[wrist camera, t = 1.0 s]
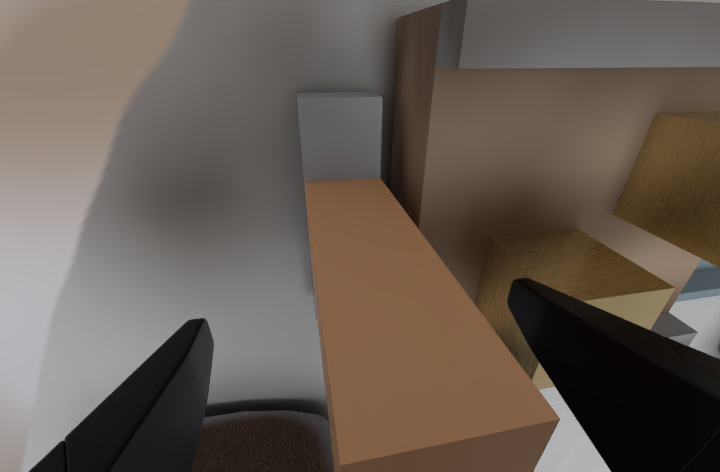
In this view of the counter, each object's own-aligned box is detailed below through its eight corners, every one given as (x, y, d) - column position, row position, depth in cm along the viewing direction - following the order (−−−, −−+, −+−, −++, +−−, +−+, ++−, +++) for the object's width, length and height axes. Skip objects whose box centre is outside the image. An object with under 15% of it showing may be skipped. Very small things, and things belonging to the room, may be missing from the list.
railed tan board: (598, 288, 22) (683, 352, 17) (383, 318, 19) (413, 402, 15) (719, 24, 15) (925, 10, 10) (398, 17, 12) (468, -6, 7)
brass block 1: (549, 302, 15) (624, 373, 12) (472, 313, 15) (527, 391, 11) (577, 228, 13) (675, 287, 10) (489, 237, 13) (562, 303, 9)
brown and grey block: (367, 286, 18) (471, 591, 8) (313, 292, 18) (349, 628, 7) (370, 91, 13) (660, 221, 3) (296, 92, 13) (329, 254, 2)
